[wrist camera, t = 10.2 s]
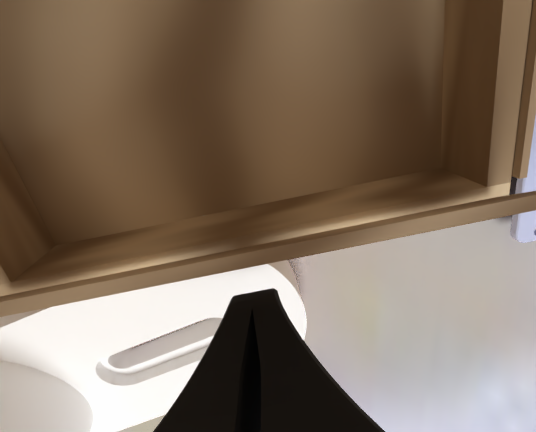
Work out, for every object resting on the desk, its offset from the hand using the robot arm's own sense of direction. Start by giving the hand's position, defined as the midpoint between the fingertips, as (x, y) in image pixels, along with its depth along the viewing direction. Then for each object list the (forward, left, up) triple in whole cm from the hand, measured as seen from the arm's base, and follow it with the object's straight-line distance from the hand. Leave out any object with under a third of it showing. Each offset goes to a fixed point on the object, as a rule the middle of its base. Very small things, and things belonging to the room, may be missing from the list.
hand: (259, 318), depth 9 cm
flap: (0, -2, -2) cm, 2 cm away
